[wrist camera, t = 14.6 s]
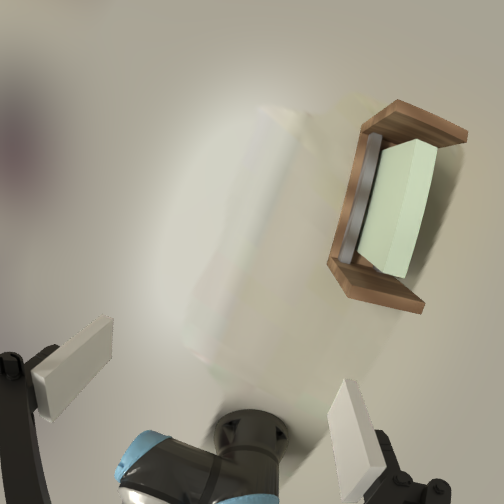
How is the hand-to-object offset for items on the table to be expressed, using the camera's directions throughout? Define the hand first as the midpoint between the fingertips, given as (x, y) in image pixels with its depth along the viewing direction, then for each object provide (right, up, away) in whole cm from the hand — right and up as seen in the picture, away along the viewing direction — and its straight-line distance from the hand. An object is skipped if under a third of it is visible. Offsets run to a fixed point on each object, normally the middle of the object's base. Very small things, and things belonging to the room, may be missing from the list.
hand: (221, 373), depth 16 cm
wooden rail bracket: (+21, +14, +31) cm, 40 cm away
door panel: (+21, +14, +30) cm, 39 cm away
